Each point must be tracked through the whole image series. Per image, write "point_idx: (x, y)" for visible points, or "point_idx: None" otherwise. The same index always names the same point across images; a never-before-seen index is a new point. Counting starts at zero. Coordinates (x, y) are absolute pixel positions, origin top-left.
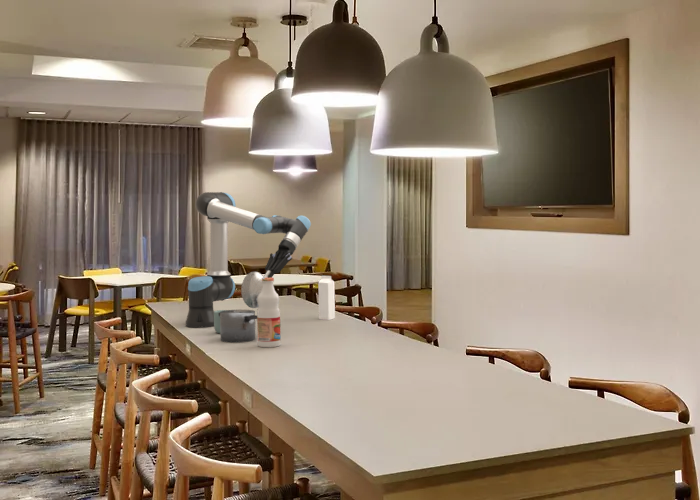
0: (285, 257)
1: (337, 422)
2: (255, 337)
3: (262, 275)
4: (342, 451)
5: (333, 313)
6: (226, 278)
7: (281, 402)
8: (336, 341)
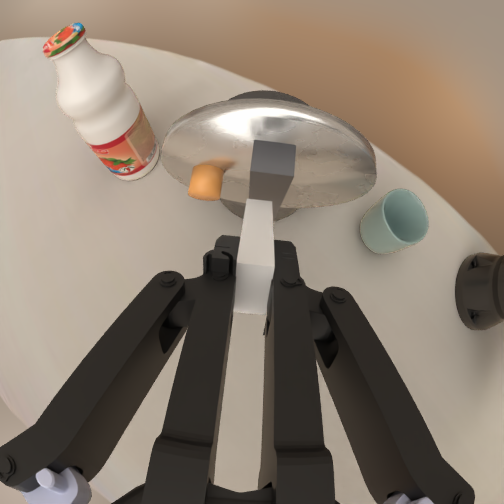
0: (48, 443)
1: (8, 50)
2: (223, 202)
3: (194, 121)
4: (8, 39)
5: None
6: None
7: (37, 40)
8: (37, 283)
